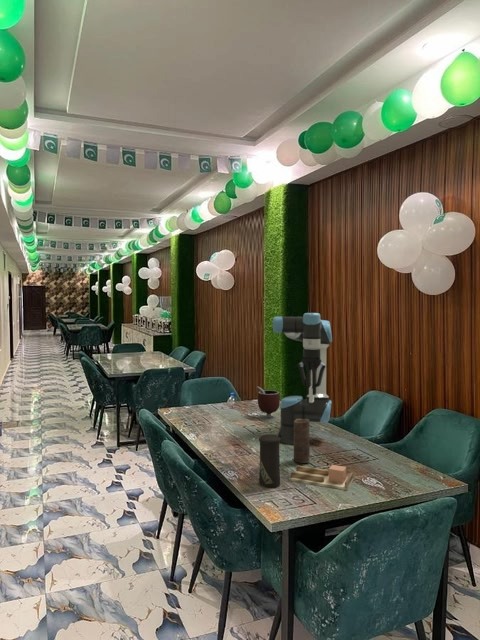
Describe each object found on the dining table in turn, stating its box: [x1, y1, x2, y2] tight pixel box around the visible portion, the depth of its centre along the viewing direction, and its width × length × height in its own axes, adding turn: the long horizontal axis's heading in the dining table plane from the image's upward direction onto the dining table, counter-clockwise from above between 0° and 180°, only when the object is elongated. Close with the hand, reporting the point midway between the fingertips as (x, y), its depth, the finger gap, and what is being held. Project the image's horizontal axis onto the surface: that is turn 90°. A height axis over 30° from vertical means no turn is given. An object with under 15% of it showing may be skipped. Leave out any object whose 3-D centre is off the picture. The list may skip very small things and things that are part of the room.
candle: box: [293, 419, 311, 464], centre depth 213 cm, size 8×7×20 cm
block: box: [328, 464, 347, 483], centre depth 189 cm, size 6×5×5 cm
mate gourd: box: [256, 386, 281, 422], centre depth 291 cm, size 16×14×20 cm
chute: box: [288, 464, 354, 491], centre depth 192 cm, size 24×12×3 cm, turn 65°
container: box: [258, 434, 281, 489], centre depth 188 cm, size 9×9×20 cm
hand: (311, 401), depth 202 cm, fingers closed
